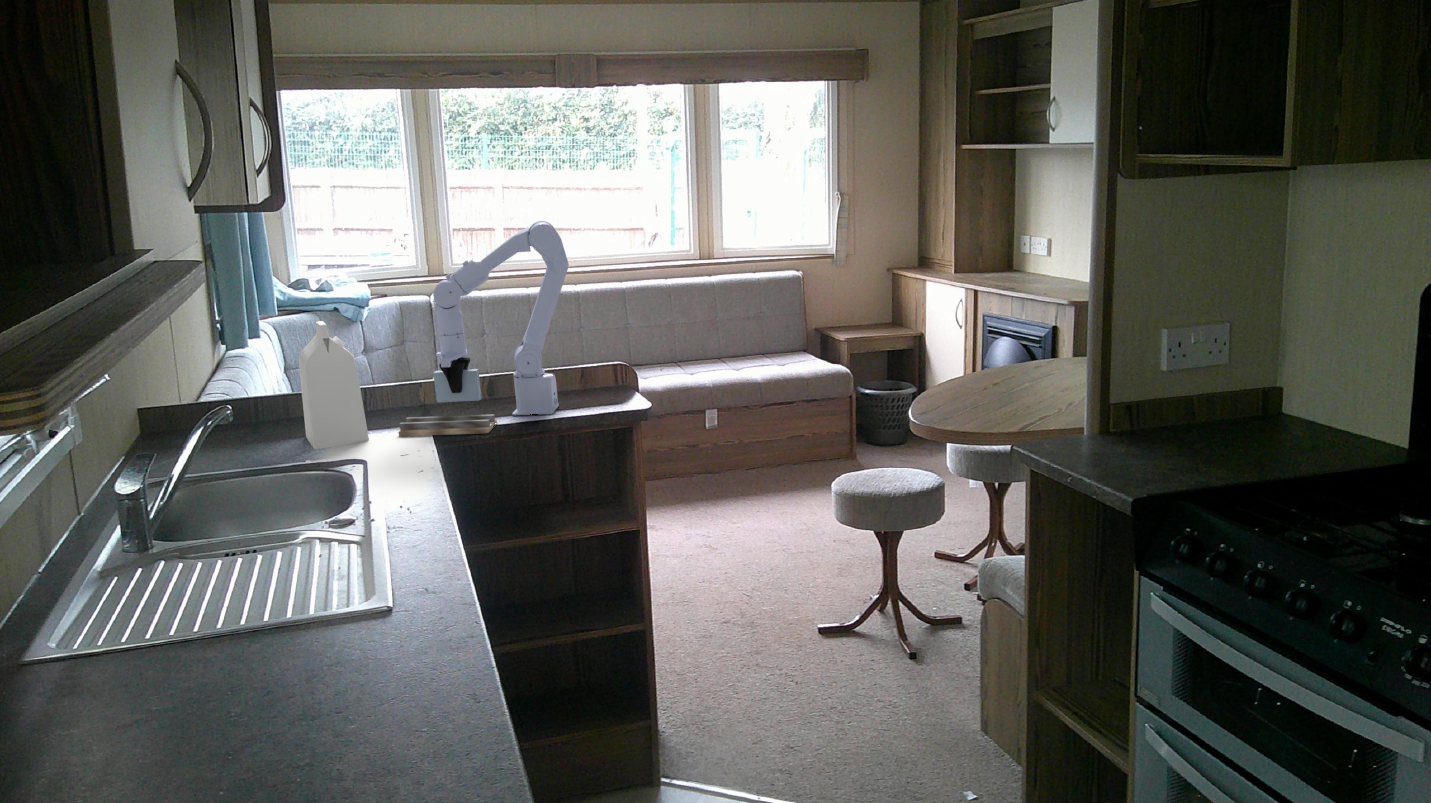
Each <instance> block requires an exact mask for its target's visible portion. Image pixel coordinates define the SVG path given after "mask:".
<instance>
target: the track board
mask: <svg viewBox="0 0 1431 803" xmlns="http://www.w3.org/2000/svg"><path fill="white" fill-rule="evenodd" d="M495 423H497V424H498V421H497V418H496V417H495V414H468V415H442V416H441V415H439V416H413V417H412V416H411V417H409V416H408V417H406V418H405V422H400V423H399V431H398V432H397V433H398V437H417V436H419V437H420V436H445V435H474V434H475V435H476V434H477V435H479V434H488V433H490V432H491V431H492V429H494V427H495V426H496V425H495ZM494 425H495V426H494ZM493 426H494V427H493Z"/></svg>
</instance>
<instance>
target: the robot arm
mask: <svg viewBox="0 0 1431 803" xmlns="http://www.w3.org/2000/svg"><path fill="white" fill-rule="evenodd" d="M531 247H532V248H533V249H534V251H536V252H537V253H538V254H539V256H541V258H542V260H543V261H544V263H545V265H546V269H545V271H544V276H543V278H542V281H541V285H540V287H539V290H538V294H537V297H536V300H535V302H534V307H533V309H532V312H531V315H530V319H529V321H528V325H527V328H526V330H525V333H524V335H523V338H522V340H521V343H519V344H518V345H517V346H516V348H515V350H514V352H513V359H514V360H513V361H514V362H513V364H514V368H515V371H514V372H513V373H512V375H513V383H514V384H513V385H514V392H515V393H514V394H515V401H516V404H515V405H516V409H515V410H514V411H513V412H512V416H532V414H538V415H553V414H554V412H555V411H556V410H557V409H558V407H559V406H560V404H559V401H558V400H559V399H558V397H559V396H558V387H557V386H558V385H557V380H556V375H555V374H554V373H548V372H546V371H545V369H544V368H543V367H542V366H543V359H542V358H543V357H542V353H543V349H544V346H545V341H546V337H547V333H548V331H549V328H550V324H551V322H552V319H553V315H554V313H555V309H556V307H557V304H558V300H559V298H560V297H559V296H560V294H561V292H562V287H563V285H564V282H565V279H566V276H567V273H568V270H569V265H570V264H569V260H568V258H567V253H566V250H565V247H564V243H563V240H562V238H561V235H560V233H558V231H557V230H556V228H555V227H554V225H552V224H551V223H550V222H548V221H546V220H539V221H536V222H534V223H532V224H531V226H530V227H528V226H527V227H525V228H524V229H521V230H520V231H518V232H517V233H515V234H514V235H512V236H511V237H509V238H508V239H506V240H505V241H504V242H503V243H502V244H500V245H499V246H498V247H496V248H495V249H493V251H491V252H490V253H488V254H487V255H486V256H485V257H484V258H482V259H473V258H472V259H471V260H467V259H466V260H465V261H463V262H462V265H463V266H460V267H459V268H458V269H457V270H456V271H454V272H452V273H451V274H450V273H448V274H447V275H445V279H443V280H440V281H439V282H438V283H437V284H436V285H435V288H434V290H433V293H432V294H433V300H434V302H435V303H436V305H435V310H436V323H437V330H438V332H437V333H438V339H439V347H440V351H438V352H436V353H435V357H436V358H437V357H438V358H439V357H440V359H439V360H440V363H439V364H438V365H439V369H440V371H443V373H444V375H445V376H446V378H447V381H448V383H449V386H450V389H451V392H452V393H461V392H462V375H463V370H466V369H468V368H469V366H470V363H471V358H470V357H466V356H467V355H468V353H469V352H468V346H467V342H466V335H465V326H464V318H463V312H462V310H461V301H460V300H461V297H465V296H468V295H469V294H470V293H472V292H474V291H475V290H476V289H477V288H479V287H480V286H482V285H483V284H484V283H486V282H487V281H489V278H490V277H489V276H490V272H491V271H493V270H494V269H495V268H497V267H498V266H500V265H501V264H503V263H505V262H506V261H507V260H509V259H510V258H512V257H513V256H514V255H516V254H518V253H525V252H527V253H528V252H531V251H532V250H531ZM530 414H531V415H530Z"/></svg>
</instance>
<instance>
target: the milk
mask: <svg viewBox="0 0 1431 803" xmlns="http://www.w3.org/2000/svg"><path fill="white" fill-rule="evenodd" d="M315 327H316V333H315V335H314V336H313V338H311V340H310V341H309V342H308V343H307V344H306V346H305V347H304V348H302V350H301V352H300V354H299V355H298V366H299V367H298V368H299V369H298V370H299V378H300V387H301V388H300V389H301V399H302V409H303V418H304V428H305V438H306V439H307V440H308V443H309V444H310V445H311V447H312V448H313V450H319V449H326V448H331V447H337V446H344V445H348V444H349V445H351V444H354V443H360V442H361V443H362V442H367V441H370V438H369V432H368V426H367V420H366V414H365V408H364V402H363V397H362V390H361V386H360V385H361V384H360V380H359V378H360V377H359V374H358V368H357V363H356V362H357V361H356V358H355V354H354V353H353V354H352V353H351V352H350V351H349V349H347V348H345V346H346V345H347V343H345V341H343V340H342V339H341V338H339V337H338V336H337V335H335V336H334V337H333V338H332V337H330V334H329V333H330V332H329V328H328V324H327V323H325V322H324V321H323V320H319V321H315Z"/></svg>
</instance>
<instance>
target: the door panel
mask: <svg viewBox="0 0 1431 803" xmlns="http://www.w3.org/2000/svg"><path fill="white" fill-rule="evenodd" d="M432 374H433V382H434V383H433V384H434V389H435V399H436V403H450V402H451V403H452V402H454V403H455V402H456V403H457V402H473V401H474V402H476V401H477V402H479V401H481V400H482V399H483V398H482V391H481V381H480V371H479V368H472V369H471V368H469V369H466V370H463V375H462V392H461V393H452V392H451V389H450V386H449V383H448V381H447V378H446V376H445V375H444V373H443V371H442V370H435V371H433V373H432Z"/></svg>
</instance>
